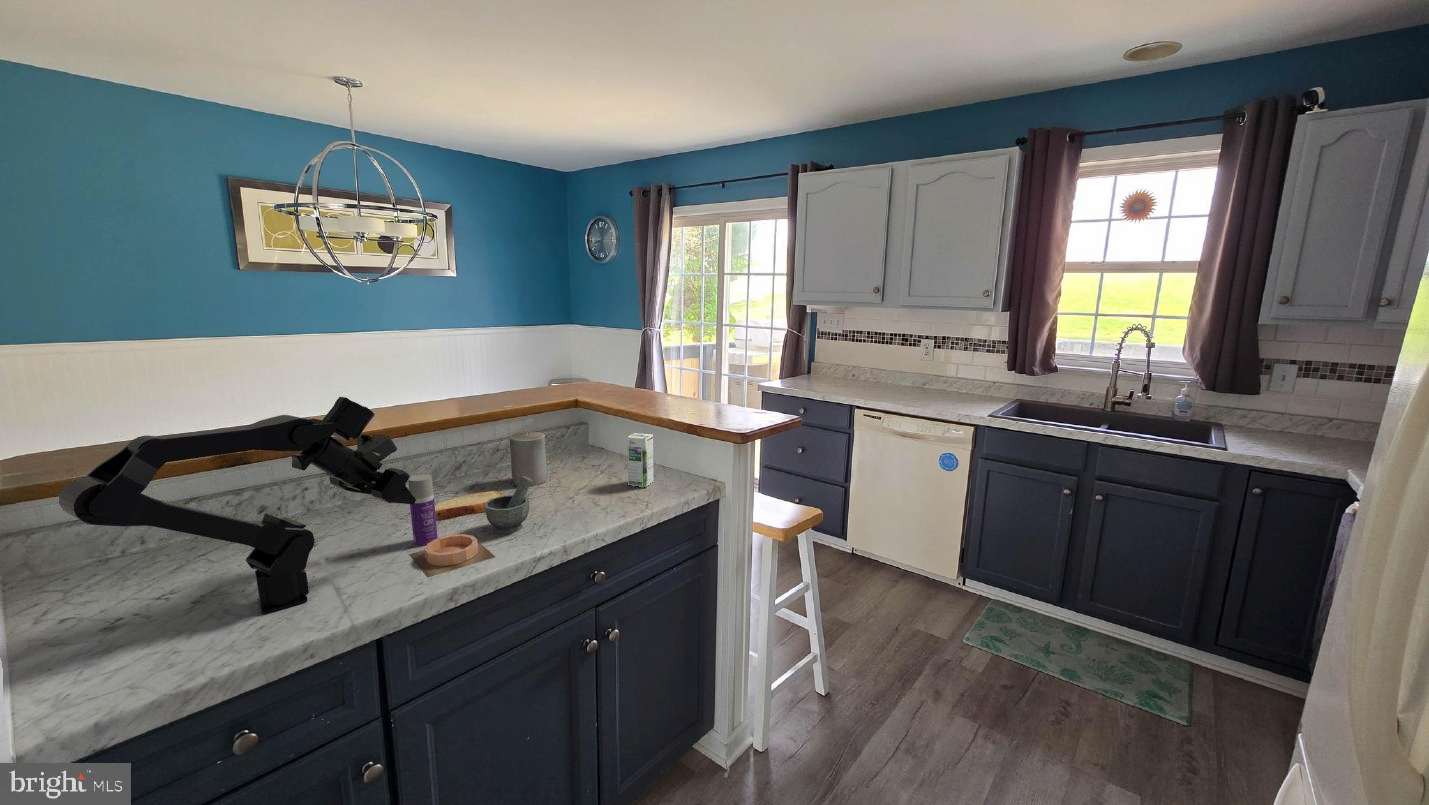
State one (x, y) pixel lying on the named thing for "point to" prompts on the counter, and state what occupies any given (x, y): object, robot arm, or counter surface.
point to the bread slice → (464, 505)
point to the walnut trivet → (435, 570)
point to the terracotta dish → (451, 550)
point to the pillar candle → (528, 457)
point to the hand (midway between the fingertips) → (400, 498)
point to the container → (423, 510)
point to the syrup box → (640, 459)
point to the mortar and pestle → (509, 509)
